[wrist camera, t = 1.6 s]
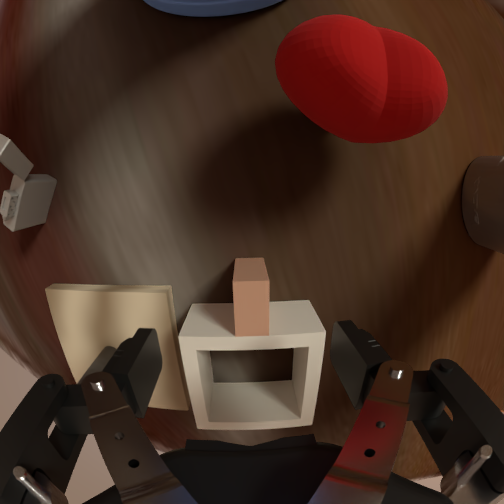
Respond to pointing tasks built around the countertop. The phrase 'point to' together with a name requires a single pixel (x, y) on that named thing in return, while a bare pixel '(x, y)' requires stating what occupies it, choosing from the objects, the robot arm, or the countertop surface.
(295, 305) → the white square frame
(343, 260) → the countertop surface
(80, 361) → the beige peg base
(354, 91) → the red heart
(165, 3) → the water jug
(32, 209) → the lighter
